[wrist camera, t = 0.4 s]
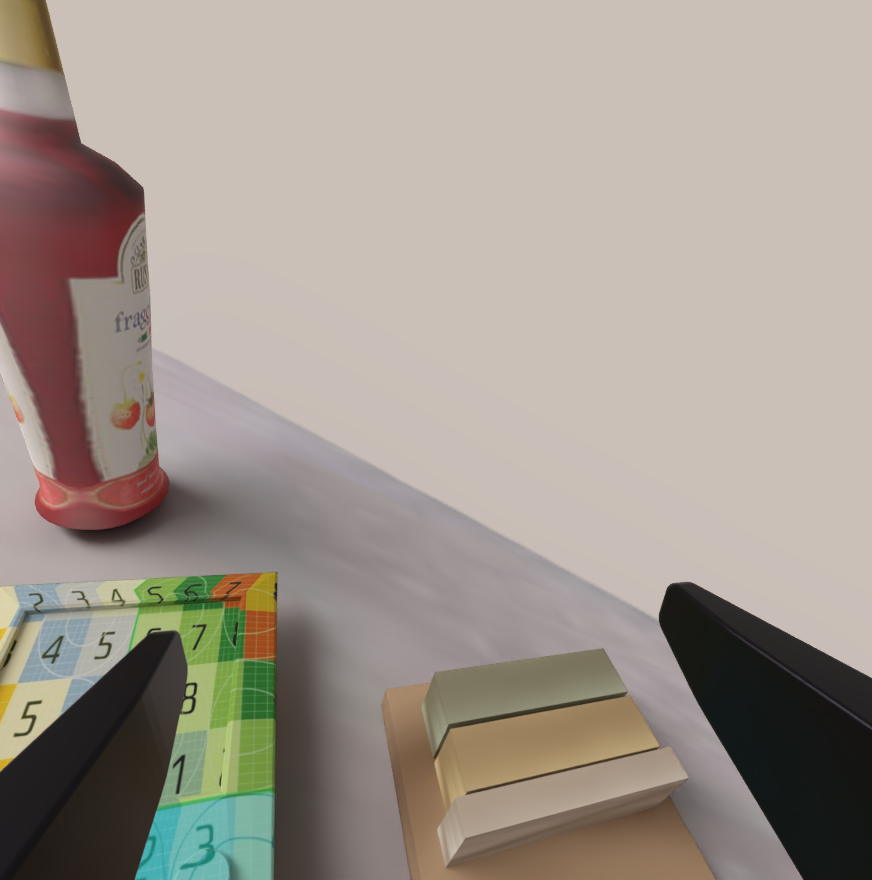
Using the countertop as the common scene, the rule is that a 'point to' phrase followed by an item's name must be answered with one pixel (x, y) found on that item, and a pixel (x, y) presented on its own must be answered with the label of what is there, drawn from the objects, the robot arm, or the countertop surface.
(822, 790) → the robot arm
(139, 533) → the countertop surface
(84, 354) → the liquor
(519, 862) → the book rack
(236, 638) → the puzzle game
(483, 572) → the countertop surface
